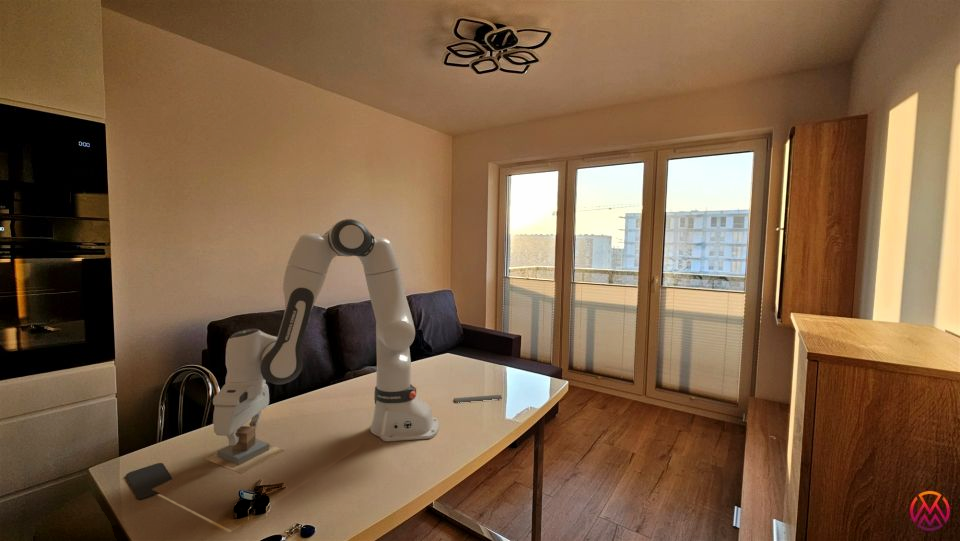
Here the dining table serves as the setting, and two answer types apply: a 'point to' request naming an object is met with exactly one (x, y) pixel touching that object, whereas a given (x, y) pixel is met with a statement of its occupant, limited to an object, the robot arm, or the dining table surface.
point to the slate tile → (242, 452)
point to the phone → (148, 480)
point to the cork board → (247, 464)
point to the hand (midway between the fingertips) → (244, 435)
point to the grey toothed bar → (477, 398)
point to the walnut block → (245, 438)
